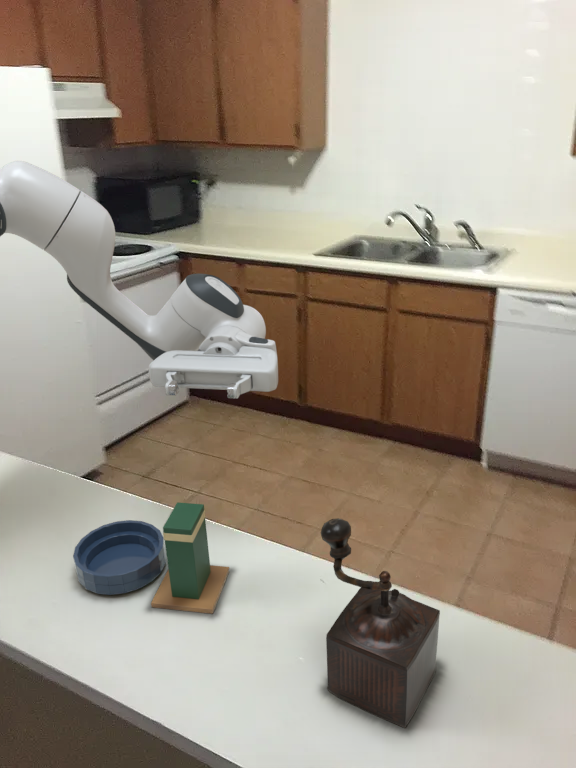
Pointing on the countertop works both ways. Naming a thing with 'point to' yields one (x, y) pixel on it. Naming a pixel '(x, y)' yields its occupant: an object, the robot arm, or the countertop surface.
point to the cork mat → (195, 605)
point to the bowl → (120, 557)
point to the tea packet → (187, 550)
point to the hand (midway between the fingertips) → (200, 392)
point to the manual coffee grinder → (379, 642)
